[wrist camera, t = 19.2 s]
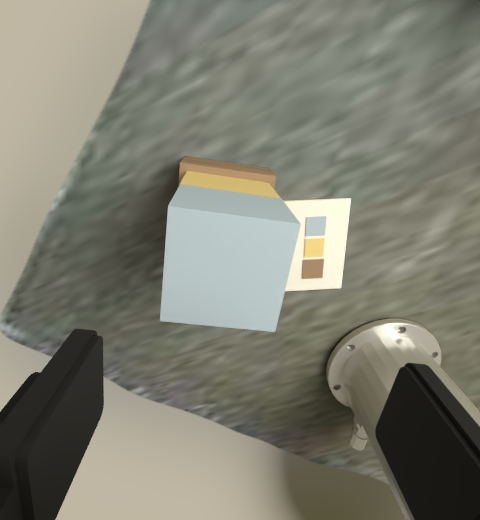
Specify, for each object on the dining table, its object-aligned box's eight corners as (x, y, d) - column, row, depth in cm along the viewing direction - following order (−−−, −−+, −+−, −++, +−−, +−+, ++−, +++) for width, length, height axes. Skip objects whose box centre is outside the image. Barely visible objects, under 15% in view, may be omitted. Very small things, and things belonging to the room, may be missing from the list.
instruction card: (340, 287, 33) (341, 288, 32) (280, 290, 32) (281, 291, 32) (350, 197, 29) (351, 198, 29) (283, 200, 29) (283, 201, 28)
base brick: (255, 245, 30) (260, 262, 27) (179, 236, 30) (173, 253, 26) (268, 168, 28) (276, 176, 24) (185, 156, 27) (179, 162, 23)
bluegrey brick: (263, 286, 22) (275, 331, 17) (172, 276, 21) (159, 321, 17) (281, 198, 20) (300, 224, 15) (180, 184, 19) (167, 206, 14)
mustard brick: (269, 182, 24) (280, 198, 20) (254, 257, 26) (262, 286, 22) (187, 170, 23) (179, 184, 19) (180, 248, 26) (171, 276, 21)
